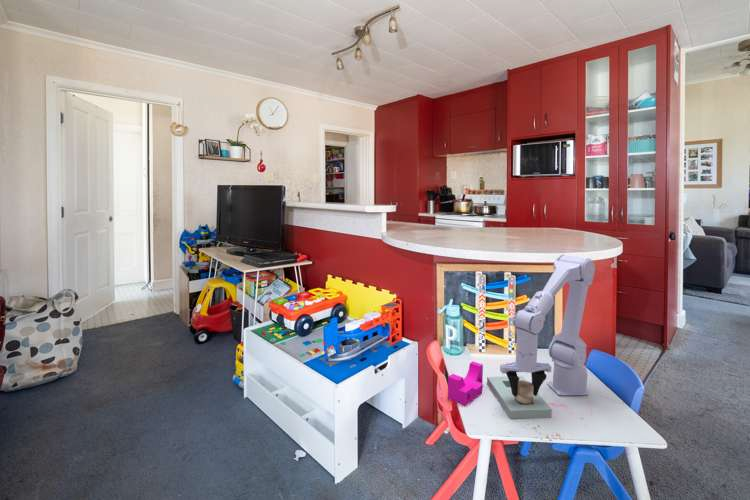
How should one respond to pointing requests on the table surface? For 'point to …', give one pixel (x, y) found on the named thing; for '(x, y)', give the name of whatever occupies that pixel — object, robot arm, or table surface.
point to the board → (511, 406)
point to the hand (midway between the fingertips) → (524, 394)
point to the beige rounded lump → (524, 392)
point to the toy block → (466, 385)
